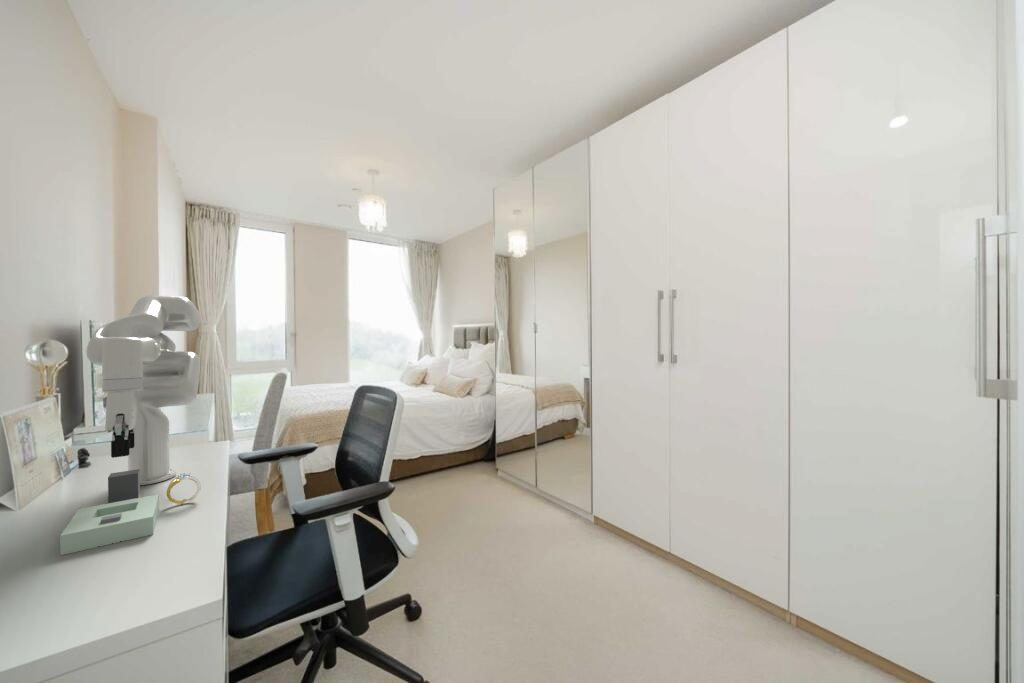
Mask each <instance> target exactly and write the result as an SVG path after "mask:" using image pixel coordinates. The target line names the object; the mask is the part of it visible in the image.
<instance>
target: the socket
mask: <svg viewBox="0 0 1024 683" xmlns="http://www.w3.org/2000/svg"><path fill="white" fill-rule="evenodd" d="M159 495H160V494H153V495H148V496H142V497H141V496H140V498H136V499H130V500H124V501H119V502H113V503H102V504H97V505H92V506H87V507H80V508H78V509H77V511H76V512H75V514H74V515H73V516H72V517H71V519H70V521H69V522H68V523H67V525H66V527H65V528H64V529H63V531H62V532H61V534H60V535H59V540H60V542H59V544H60V545H59V546H60V549H59V551H60V553H59V554H60V556H65V555H67V554H73V553H76V552H82V551H85V550H91V549H95V548H99V547H98V546H100V547H102V546H108V545H112V543H113V544H117V543H121V542H120V541H122V542H126V541H129V540H134V539H139V538H143V537H144V538H145V537H149V536H152V535H154V533H155V527H156V524H157V519H158V515H159V511H160V501H159V500H160V499H159V498H160V497H159ZM125 540H126V541H125Z"/></svg>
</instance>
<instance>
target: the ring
mask: <svg viewBox="0 0 1024 683" xmlns="http://www.w3.org/2000/svg"><path fill="white" fill-rule="evenodd" d="M187 479H188V480H191V481H194V482H195V484H196V486H197V489H196V492H195V494H194V495H192V496H191V497H190V498H185V499H182V500H178V499H175V498H173V497H172V495H171V490H172V489H173V488H174V486H176V485H177V484H178V483H180V482H181V481H185V480H187ZM201 489H202V484H201V481H200V480H199V478H197V477H195V476H191V472H188V474H187V473H186V472H182V473H179V475H175V476H174V479H172V480H170V482H169V484H168V486H167V489H166V498H167V499H168V501H170V502H171V503H172V504H178V505H181V504H182V505H186V504H187V503H190V502H192V501H193V500H194V499H196V498H197V497H198V496H199V494H200V492H201Z"/></svg>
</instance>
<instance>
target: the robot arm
mask: <svg viewBox="0 0 1024 683" xmlns="http://www.w3.org/2000/svg"><path fill="white" fill-rule="evenodd" d="M200 315H201V314H200V311H199V310H198V309H197V307H196V306H195V304H194V302H193V301H191V300H190V299H189V298H188V297H185V296H176V295H174V296H171V295H145V296H142V297H141V298H139V299H138V300H137V301H136V302H135V304H134V306H133V307H132V308H131V311H130V313H129V314H128V316H125V317H122V318H119V319H116V320H114V321H111V322H108V323H106V324H103V325H102V326H100V327H98V328H97V329H96V330H95V331H94V333H93V334H92V336H91V338H90V339H89V341H88V342H87V346H86V353H85V354H86V357H87V360H89V362H91V363H92V364H93V365H97V366H101V367H102V368H101V370H102V372H101V374H102V375H101V378H102V379H101V390H102V391H101V392H102V393H104V394H106V393H107V394H106V395H107V396H106V402H105V403H106V406H105V409H106V410H105V427H104V432H106V433H108V434H109V433H111V432H112V436H111V441H110V455H111V456H110V457H111V458H121V457H127V463H128V466H127V468H128V469H127V471H130V470H137V469H140V486H144V485H145V486H146V485H152V484H156V483H161V482H163V481H166V480H167V481H168V480H169V479H172V478H175V476H177V475H176V474H177V471H176V469H173V468H170V465H171V464H170V462H171V461H170V420H169V418H168V416H167V415H166V414H165V413H164V412H162V410H161V409H160V408H167V407H179V406H188V405H191V404H192V403H194V402H195V401H196V398H197V395H198V391H199V390H198V388H199V382H200V376H201V375H200V374H201V361H200V357H199V355H198V354H197V353H195V352H193V351H185V350H183V351H176V347H177V346H176V343H175V342H174V341H173V340H172V339H171V338H170V337H169V336H167V335H166V334H164V333H163V331H164V332H165V331H166V332H191V331H192V332H193V331H195V330H197V329H198V328H199V327H200V324H201V316H200Z"/></svg>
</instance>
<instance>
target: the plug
mask: <svg viewBox="0 0 1024 683" xmlns="http://www.w3.org/2000/svg"><path fill="white" fill-rule="evenodd" d="M107 494H108V496H107V501H108V503H113V502H119V501H124V500H130V499H136V498H141V485H140V469H137V470H130V471H128V470H124V471H119V472H111V473H110V474H109V475H108V477H107ZM108 503H107V504H108Z"/></svg>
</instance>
